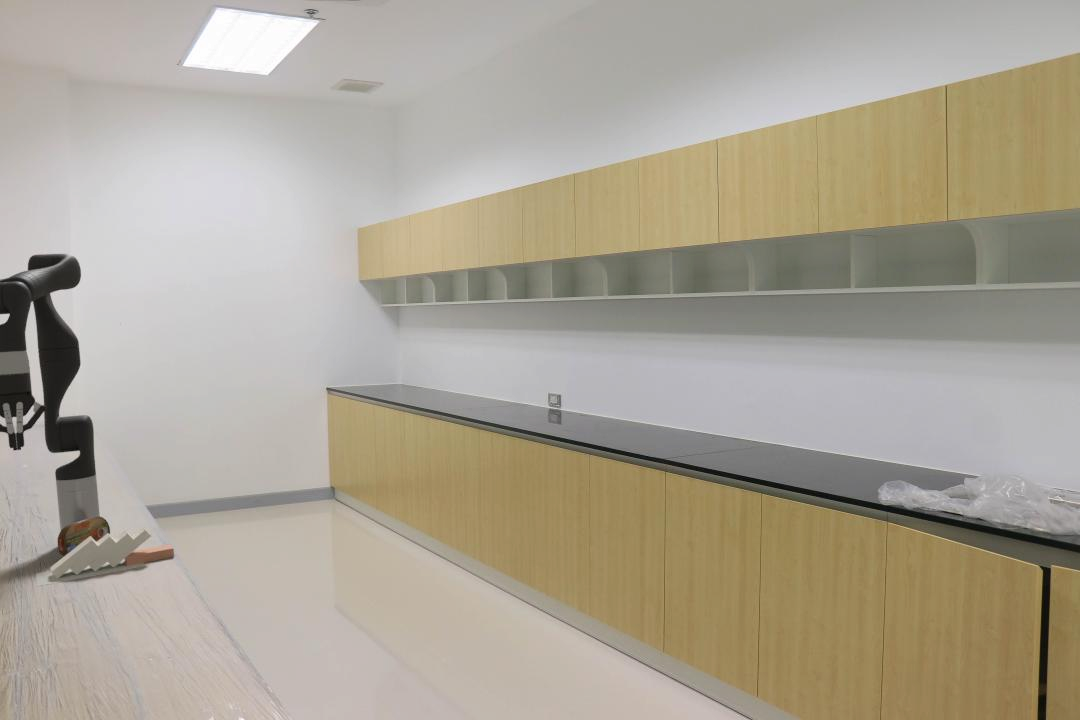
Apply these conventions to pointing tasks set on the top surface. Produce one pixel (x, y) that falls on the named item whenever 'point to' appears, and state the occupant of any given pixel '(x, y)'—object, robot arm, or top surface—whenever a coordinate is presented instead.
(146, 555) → the domino
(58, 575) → the domino
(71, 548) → the tin
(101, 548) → the domino
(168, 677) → the top surface
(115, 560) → the domino
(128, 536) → the domino
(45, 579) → the mat
